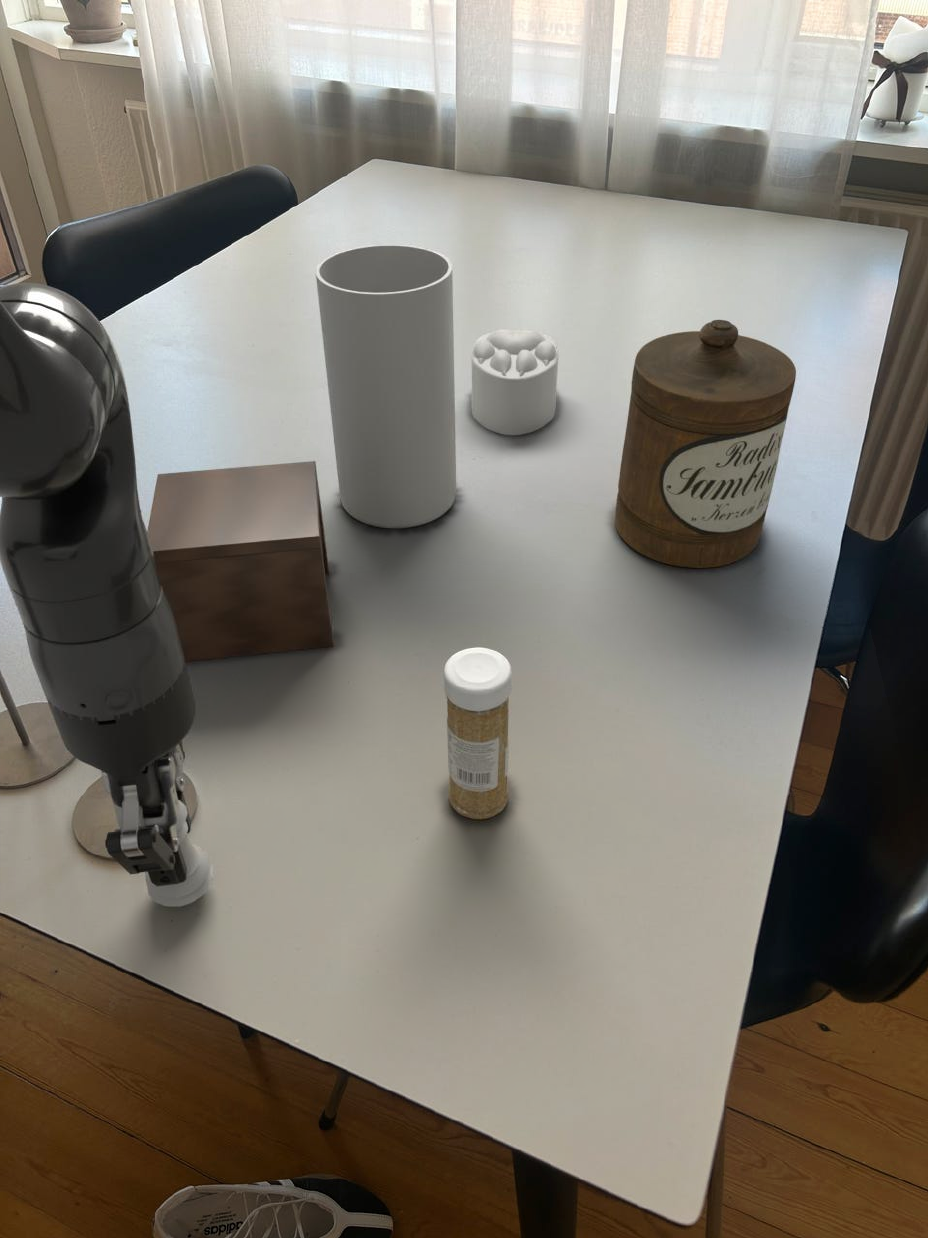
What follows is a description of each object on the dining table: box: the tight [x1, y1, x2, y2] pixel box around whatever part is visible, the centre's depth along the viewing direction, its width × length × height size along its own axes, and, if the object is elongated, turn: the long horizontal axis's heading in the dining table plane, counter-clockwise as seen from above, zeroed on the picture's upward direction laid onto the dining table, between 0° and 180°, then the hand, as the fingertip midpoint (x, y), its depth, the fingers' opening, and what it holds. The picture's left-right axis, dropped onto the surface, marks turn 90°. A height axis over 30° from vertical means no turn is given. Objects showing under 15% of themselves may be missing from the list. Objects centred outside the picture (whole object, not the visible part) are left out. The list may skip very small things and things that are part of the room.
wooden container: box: [614, 319, 797, 569], centre depth 93 cm, size 15×15×22 cm
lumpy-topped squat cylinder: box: [471, 329, 559, 436], centre depth 117 cm, size 10×13×9 cm
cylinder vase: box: [315, 243, 457, 529], centre depth 96 cm, size 12×12×25 cm
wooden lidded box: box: [147, 460, 335, 662], centre depth 86 cm, size 14×12×12 cm
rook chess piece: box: [144, 800, 214, 908], centre depth 64 cm, size 4×4×8 cm
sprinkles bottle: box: [443, 647, 513, 820], centre depth 68 cm, size 5×5×14 cm
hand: (172, 854), depth 64 cm, fingers closed on rook chess piece, 3 cm apart
